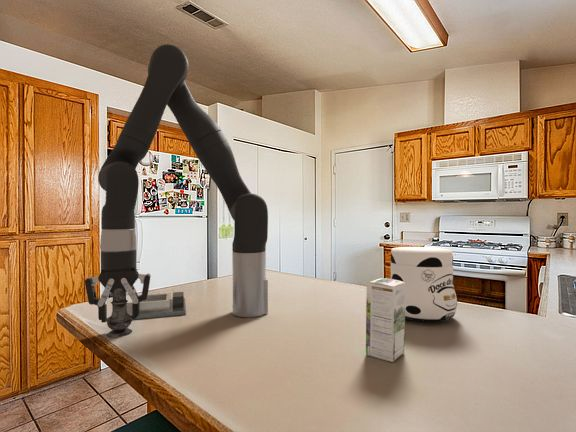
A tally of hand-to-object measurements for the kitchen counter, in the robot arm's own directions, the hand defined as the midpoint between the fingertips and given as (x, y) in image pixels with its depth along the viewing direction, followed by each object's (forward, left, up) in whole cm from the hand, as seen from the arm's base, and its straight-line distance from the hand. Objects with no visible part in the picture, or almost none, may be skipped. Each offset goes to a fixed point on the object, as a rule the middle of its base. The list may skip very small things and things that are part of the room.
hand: (119, 319), depth 79 cm
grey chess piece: (0, 0, -3) cm, 3 cm away
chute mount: (-6, -17, -3) cm, 18 cm away
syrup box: (-52, +30, -3) cm, 60 cm away
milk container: (-75, +12, -3) cm, 76 cm away
